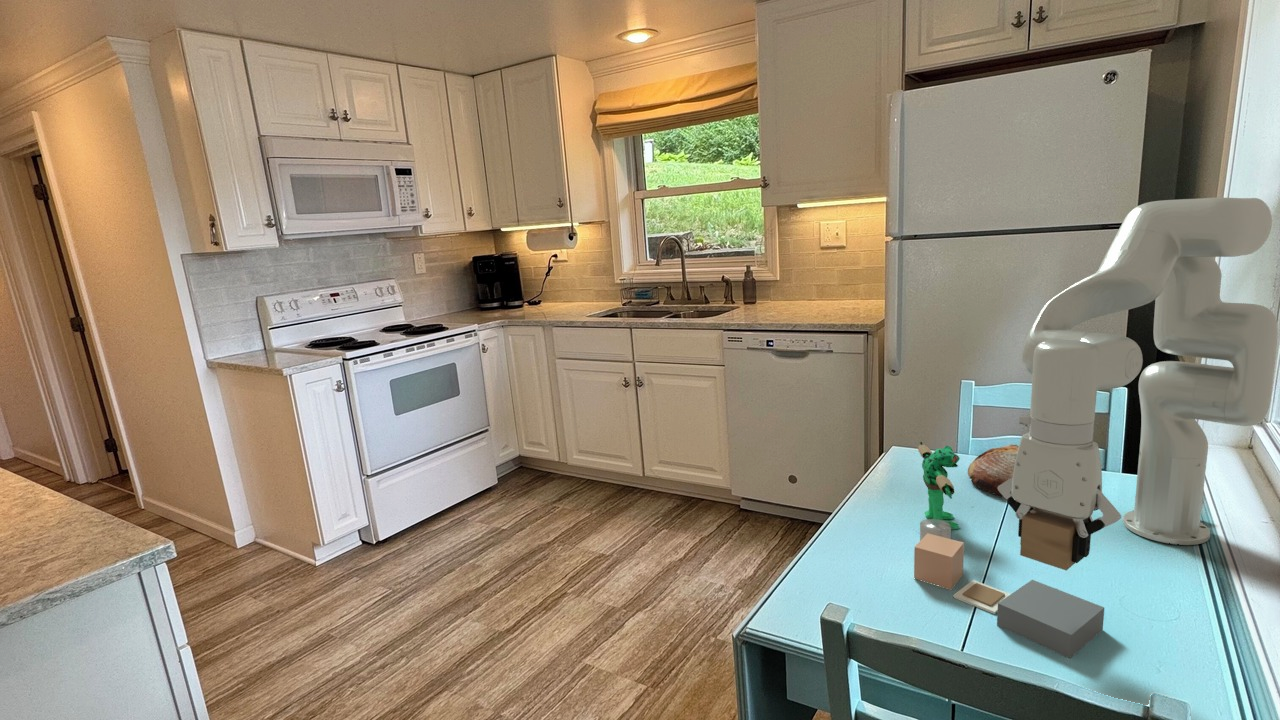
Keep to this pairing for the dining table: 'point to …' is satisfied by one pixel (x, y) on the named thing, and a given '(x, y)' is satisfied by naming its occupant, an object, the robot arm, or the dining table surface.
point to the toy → (938, 480)
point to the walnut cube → (1048, 538)
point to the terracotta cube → (938, 560)
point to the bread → (993, 468)
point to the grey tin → (935, 528)
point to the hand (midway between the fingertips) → (1052, 549)
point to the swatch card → (981, 596)
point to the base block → (1050, 618)
